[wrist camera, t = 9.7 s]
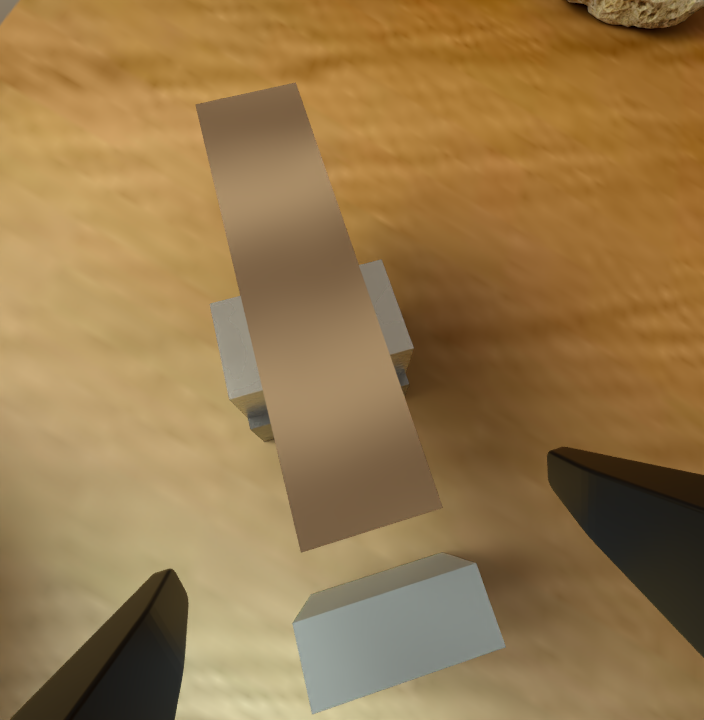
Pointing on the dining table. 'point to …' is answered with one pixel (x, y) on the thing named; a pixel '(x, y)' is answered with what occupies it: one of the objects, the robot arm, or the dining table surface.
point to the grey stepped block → (243, 363)
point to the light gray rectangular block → (393, 628)
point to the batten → (312, 325)
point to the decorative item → (642, 11)
